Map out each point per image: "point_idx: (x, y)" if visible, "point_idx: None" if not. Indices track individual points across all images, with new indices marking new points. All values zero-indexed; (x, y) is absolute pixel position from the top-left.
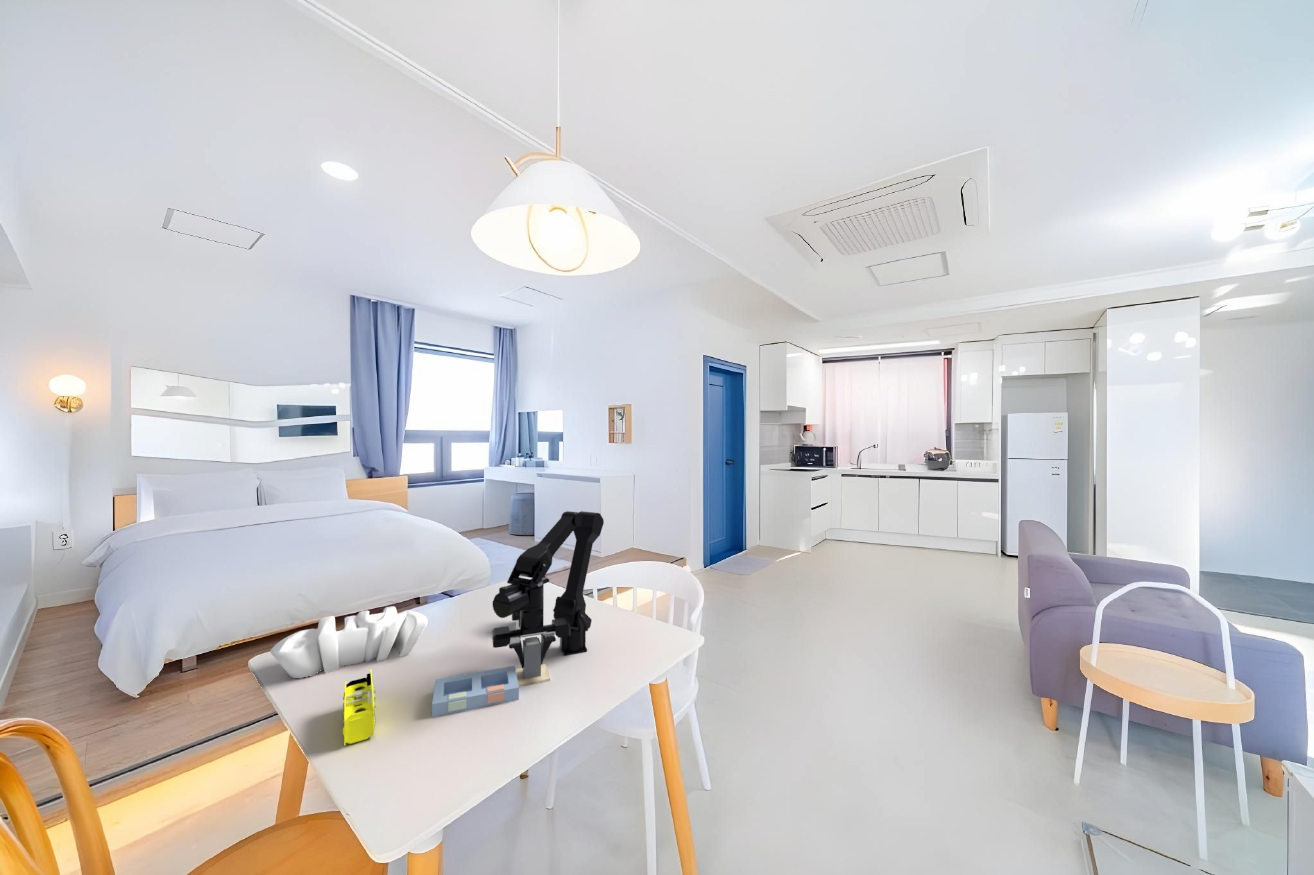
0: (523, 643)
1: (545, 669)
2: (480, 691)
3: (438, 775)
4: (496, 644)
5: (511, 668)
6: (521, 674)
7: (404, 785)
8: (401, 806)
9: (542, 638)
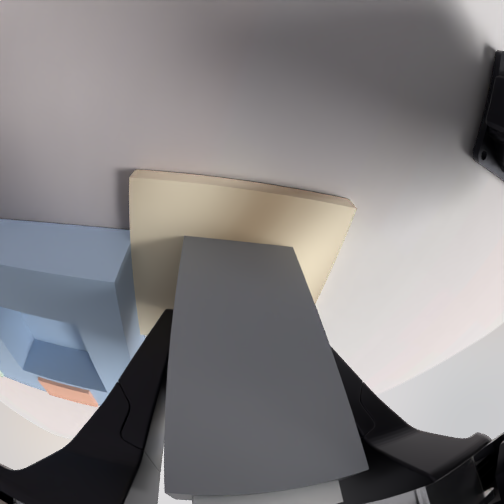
0: (171, 496)
1: (321, 271)
2: (26, 377)
3: (55, 418)
4: (7, 499)
5: (96, 310)
6: (171, 266)
7: (26, 409)
8: (41, 421)
9: (354, 492)
